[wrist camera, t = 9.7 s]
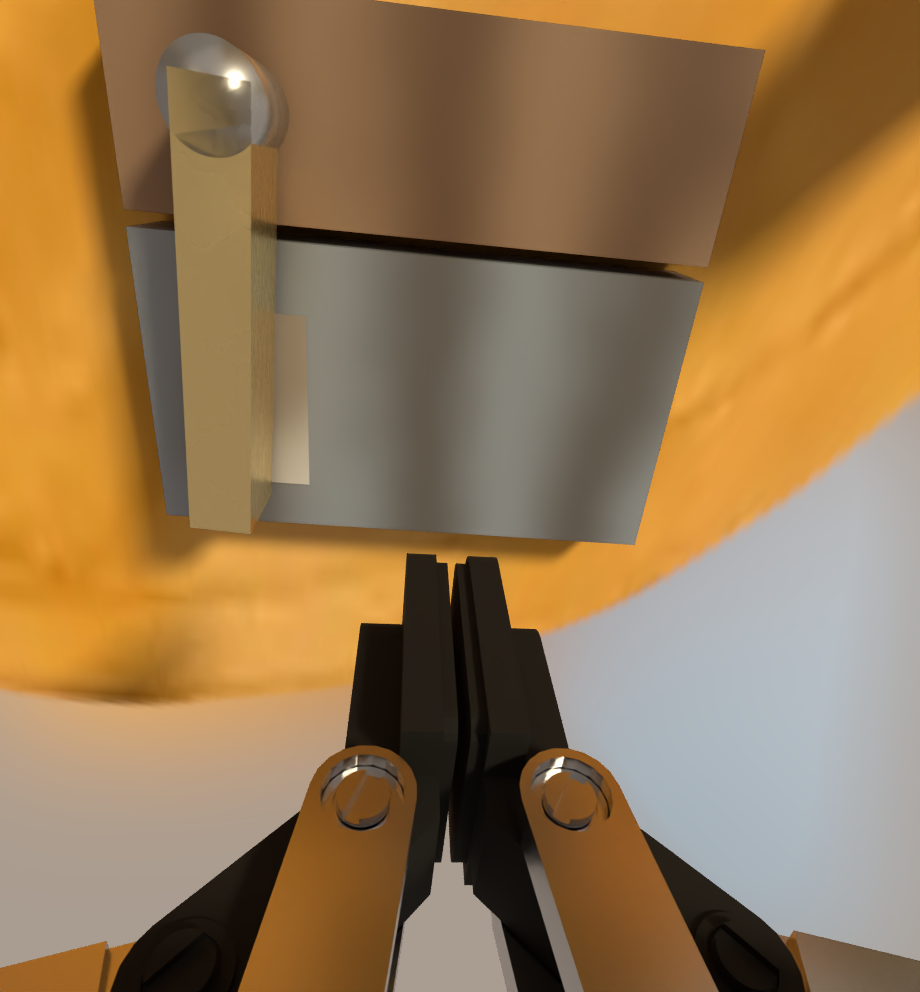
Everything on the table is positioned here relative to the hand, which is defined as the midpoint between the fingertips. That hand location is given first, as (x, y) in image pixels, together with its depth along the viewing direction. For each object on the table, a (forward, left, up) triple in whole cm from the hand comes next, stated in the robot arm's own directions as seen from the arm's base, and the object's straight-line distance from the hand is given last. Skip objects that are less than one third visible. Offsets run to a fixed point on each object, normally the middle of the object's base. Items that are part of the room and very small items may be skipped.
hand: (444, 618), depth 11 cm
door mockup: (-1, +3, -15) cm, 16 cm away
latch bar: (-7, +3, -12) cm, 14 cm away
